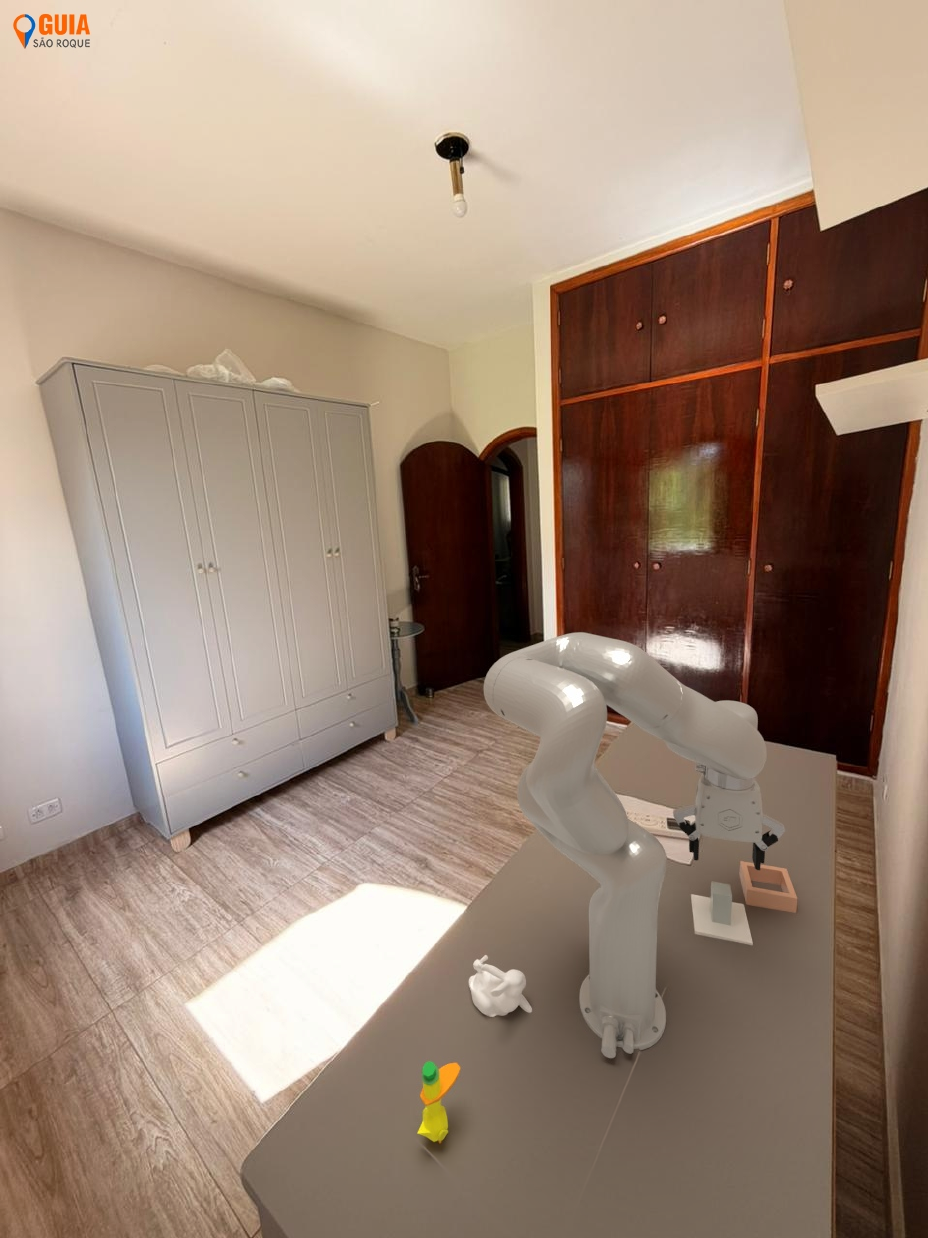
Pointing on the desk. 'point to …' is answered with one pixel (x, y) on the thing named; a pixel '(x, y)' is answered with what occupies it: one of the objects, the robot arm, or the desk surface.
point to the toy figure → (436, 1098)
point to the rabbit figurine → (497, 989)
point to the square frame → (764, 896)
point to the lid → (720, 915)
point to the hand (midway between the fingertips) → (725, 860)
